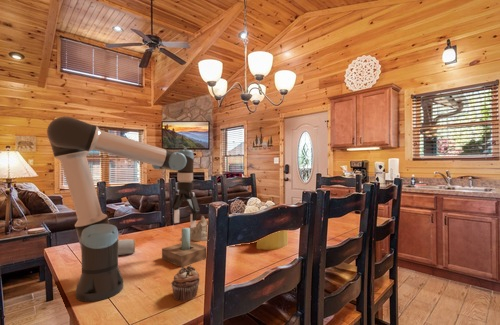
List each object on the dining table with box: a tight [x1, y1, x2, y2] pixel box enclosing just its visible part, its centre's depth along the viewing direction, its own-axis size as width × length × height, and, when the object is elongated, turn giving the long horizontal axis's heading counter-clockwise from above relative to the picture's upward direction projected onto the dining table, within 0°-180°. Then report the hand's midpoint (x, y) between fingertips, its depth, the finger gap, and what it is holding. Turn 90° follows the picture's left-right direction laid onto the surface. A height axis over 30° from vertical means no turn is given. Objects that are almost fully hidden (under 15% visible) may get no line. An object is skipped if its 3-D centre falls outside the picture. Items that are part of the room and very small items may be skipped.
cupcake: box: [170, 264, 200, 302], centre depth 94 cm, size 10×10×10 cm
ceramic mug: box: [118, 238, 136, 256], centre depth 138 cm, size 11×8×8 cm
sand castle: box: [188, 215, 209, 242], centre depth 165 cm, size 16×16×15 cm
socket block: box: [161, 240, 207, 268], centre depth 130 cm, size 16×16×5 cm
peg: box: [181, 227, 191, 251], centre depth 130 cm, size 4×4×14 cm
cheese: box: [253, 230, 289, 250], centre depth 156 cm, size 26×26×15 cm
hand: (184, 225), depth 130 cm, fingers open, 13 cm apart
